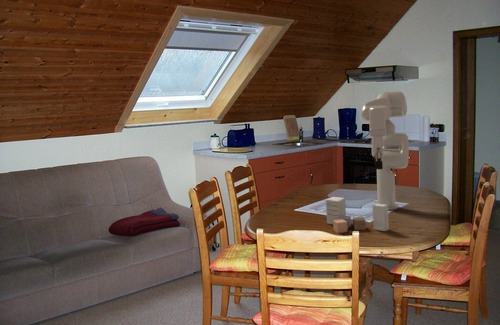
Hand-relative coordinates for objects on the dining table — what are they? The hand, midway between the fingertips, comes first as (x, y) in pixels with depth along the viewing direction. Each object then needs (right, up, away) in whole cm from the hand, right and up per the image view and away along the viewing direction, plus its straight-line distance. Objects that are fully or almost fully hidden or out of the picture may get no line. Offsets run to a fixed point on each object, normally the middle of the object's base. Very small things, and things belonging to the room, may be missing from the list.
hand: (378, 167), depth 242 cm
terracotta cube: (-20, -31, -5) cm, 37 cm away
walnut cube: (-10, -30, -3) cm, 31 cm away
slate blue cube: (-16, -29, +1) cm, 34 cm away
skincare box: (-1, -30, -7) cm, 31 cm away
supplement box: (-19, -28, +9) cm, 35 cm away
